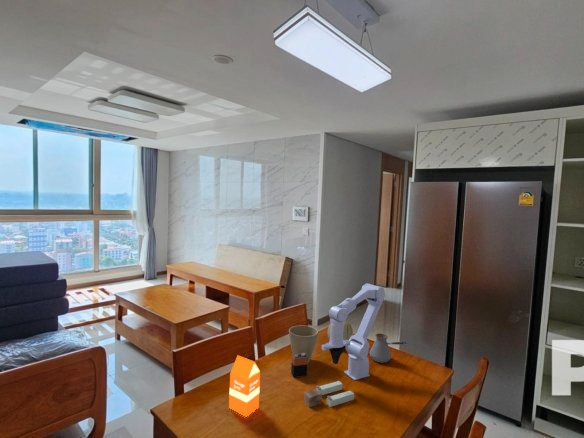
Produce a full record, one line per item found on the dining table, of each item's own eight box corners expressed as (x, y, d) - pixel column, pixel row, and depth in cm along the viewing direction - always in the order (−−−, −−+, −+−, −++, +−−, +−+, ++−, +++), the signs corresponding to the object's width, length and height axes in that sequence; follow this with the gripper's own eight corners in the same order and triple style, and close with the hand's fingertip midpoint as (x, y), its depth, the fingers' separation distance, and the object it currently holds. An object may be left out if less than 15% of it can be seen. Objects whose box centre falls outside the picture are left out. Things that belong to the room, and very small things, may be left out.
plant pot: (322, 361, 163) (323, 330, 163) (304, 371, 152) (305, 339, 152) (300, 351, 173) (301, 322, 173) (281, 360, 162) (282, 330, 161)
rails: (338, 386, 141) (339, 379, 141) (353, 399, 132) (354, 392, 132) (316, 392, 135) (316, 385, 135) (330, 406, 126) (330, 399, 126)
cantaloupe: (326, 348, 178) (327, 322, 177) (327, 338, 192) (328, 314, 192) (352, 351, 176) (354, 325, 175) (352, 341, 190) (353, 316, 189)
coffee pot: (364, 357, 170) (366, 329, 169) (378, 352, 176) (380, 326, 176) (397, 376, 152) (399, 345, 151) (412, 369, 159) (414, 340, 158)
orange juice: (246, 418, 117) (248, 365, 116) (228, 409, 122) (230, 358, 121) (259, 407, 124) (261, 357, 123) (241, 399, 128) (243, 351, 127)
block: (315, 398, 132) (316, 388, 132) (321, 403, 128) (321, 393, 128) (303, 401, 129) (304, 392, 129) (308, 407, 125) (309, 397, 125)
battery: (307, 376, 148) (308, 355, 148) (293, 378, 146) (294, 356, 146) (304, 371, 152) (305, 351, 152) (290, 373, 150) (291, 352, 150)
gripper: (344, 328, 149) (342, 356, 150) (318, 332, 142) (316, 362, 143) (353, 333, 143) (352, 363, 143) (327, 338, 136) (325, 369, 137)
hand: (335, 363), depth 143 cm, fingers closed
